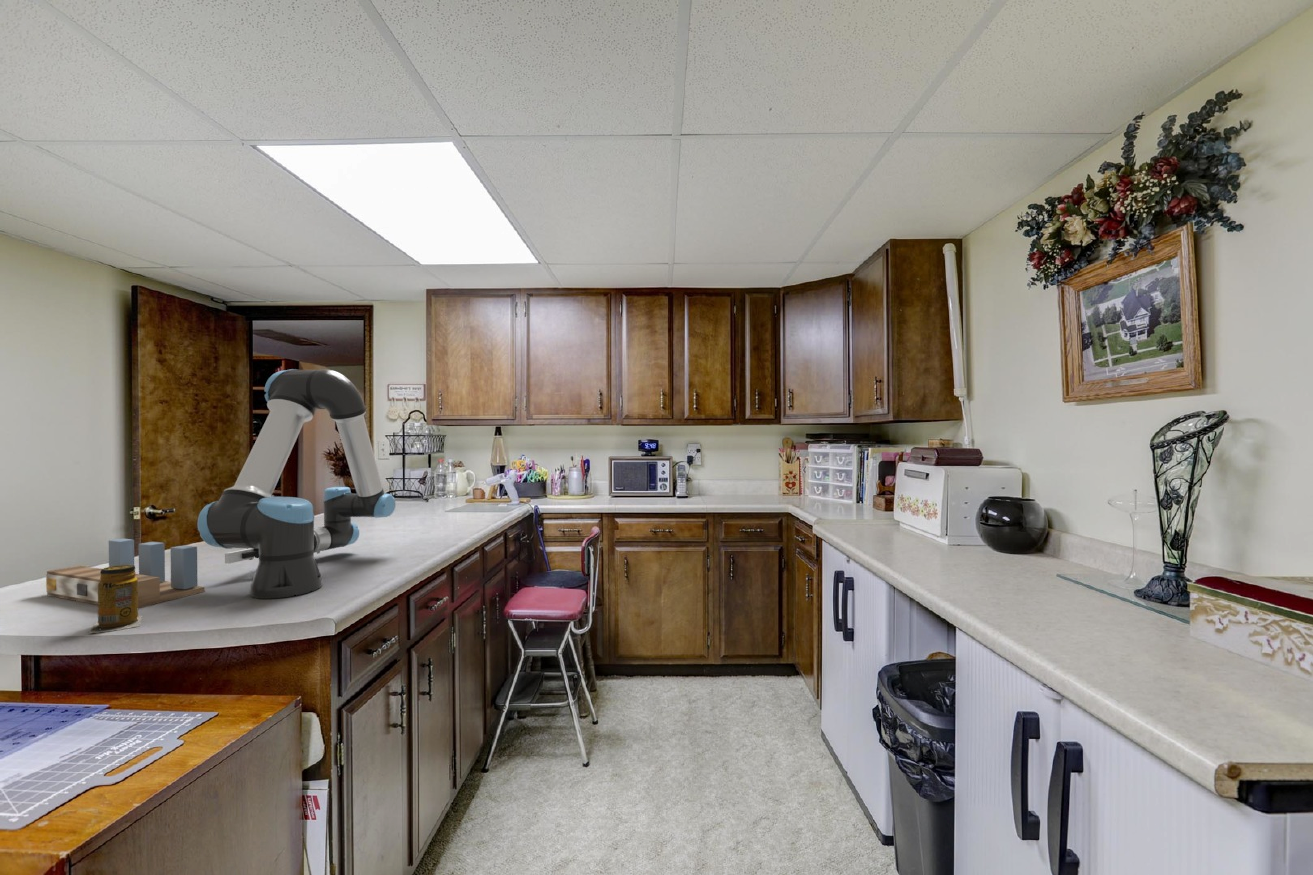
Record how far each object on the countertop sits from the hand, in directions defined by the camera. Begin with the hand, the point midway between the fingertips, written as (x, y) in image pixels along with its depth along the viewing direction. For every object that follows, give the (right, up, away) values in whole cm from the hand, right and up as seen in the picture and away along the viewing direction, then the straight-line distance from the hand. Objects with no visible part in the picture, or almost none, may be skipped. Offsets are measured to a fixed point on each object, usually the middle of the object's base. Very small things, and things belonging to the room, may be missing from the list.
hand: (226, 558), depth 147 cm
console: (-18, -7, -10) cm, 21 cm away
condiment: (+2, -7, -32) cm, 33 cm away
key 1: (-28, -5, 0) cm, 28 cm away
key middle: (-16, -5, -5) cm, 17 cm away
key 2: (-3, -5, -9) cm, 11 cm away
